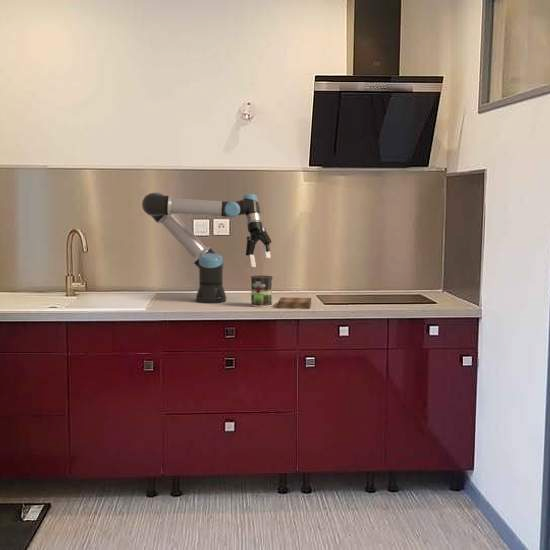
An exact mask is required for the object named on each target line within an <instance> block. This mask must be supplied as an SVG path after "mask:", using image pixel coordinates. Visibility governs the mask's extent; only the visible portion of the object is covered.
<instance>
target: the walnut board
mask: <svg viewBox="0 0 550 550" xmlns="http://www.w3.org/2000/svg"><path fill="white" fill-rule="evenodd" d="M310 306H312V297H282V296H281V297H280V298H279V300H278V301H277V309H295V308H300V310H301V309H303V310H305V309H306V310H309V309H311V307H310Z"/></svg>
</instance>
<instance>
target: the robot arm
mask: <svg viewBox="0 0 550 550" xmlns="http://www.w3.org/2000/svg"><path fill="white" fill-rule="evenodd" d="M141 207H142V210H143V212H144V213H146V215H148V216H150V217H151V218H153V220H154V222H155V223H157V224H160V225H161V224H162V226H163V227H164V228H165V229H166V230H168V233H170V234H171V235H172V236H173V238H175V239H176V241H177V242H178V243H179V244H180V245H181V246H182V247H183V248H184V250H186V252H188V254H189V255H190V256H191V257H192V258H193V263H194V265H195V266H196V267H197V269H198V271H199V272H198V278H199V280H198V281H199V283H198V284H199V286H198V290H197V292H196V296H195V301H196V303H201V302H204V303H205V304H218V303H224V302H225V303H226V302H227V294H226V292H225V289H224V286H223V284H224V282H223V278H224V277H223V276H224V275H223V269H224V261H223V260H224V259H223V256H222V255H221V254H219V253H216V252H215V251H214V250H213V249H212V248H211V247H210V246H209V247H208V246H205V245H204V243H203V242H202V241H201V240H200V238H198V236H196V234H195V233H194V232H193V231H192V230H191V229H190V228H189V227H188V225H186V223H185V222H183V220H182V219H181V218H180V217H179V216H178V215H192V216H193V215H194V216H196V215H197V216H209V217H213V216H214V217H222V218H236V217H238V216H243V215H245V219H246V220H245V221H246V225H247V232H248V233H249V234H250V235H249V236H248V235H247V236H246V246H245V247H246V249H245V256H246V257H247V256H248V258H249V264H250V267H251V268H256V267H257V263H256V259H255V254H254V252H255V248H256V244H257V243H258V242H259V241H260V242H261V243H262V244H263V250H264V257H265V259H272V258H271V257H272V255H271V250H270V245H271V243H272V239H271V237H270V235H269V234H268V232H267V230H266V227H263V223H262V217H261V211H260V205H259V198H258V196H257V194H254V193H247V194H245V195H244V196H243V197H242V199H240V200H236V201H235V200H234V201H226V200H225V201H224V200H223V201H222V200H207V199H191V198H175V197H171V196H170V195H164V194H163V193H160V192H150V193H148V194H146V195H145V196H144V198H143V199H142V202H141ZM204 303H203V304H204Z"/></svg>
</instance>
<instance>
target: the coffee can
mask: <svg viewBox="0 0 550 550" xmlns="http://www.w3.org/2000/svg"><path fill="white" fill-rule="evenodd" d="M250 280H251V286H250V287H251V288H250V289H251V291H250V292H251V293H250V296H251V297H250V298H251V303H250V304H251V307H254V306H255V307H254V308H256V307H257V308H264V307H263V306H270V307H272V306H273V276H271V275H252V276H251V277H250ZM271 305H272V306H271Z"/></svg>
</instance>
